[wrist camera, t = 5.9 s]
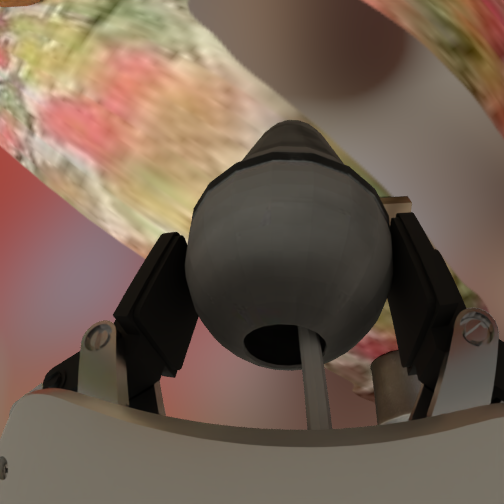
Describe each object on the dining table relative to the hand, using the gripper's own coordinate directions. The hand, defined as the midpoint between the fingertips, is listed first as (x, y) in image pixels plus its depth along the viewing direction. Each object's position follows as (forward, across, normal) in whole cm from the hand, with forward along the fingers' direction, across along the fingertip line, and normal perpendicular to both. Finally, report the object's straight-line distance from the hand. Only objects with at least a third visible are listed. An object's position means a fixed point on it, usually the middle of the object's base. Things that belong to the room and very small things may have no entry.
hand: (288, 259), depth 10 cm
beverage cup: (+12, 0, 0) cm, 12 cm away
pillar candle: (+21, -16, +46) cm, 53 cm away
